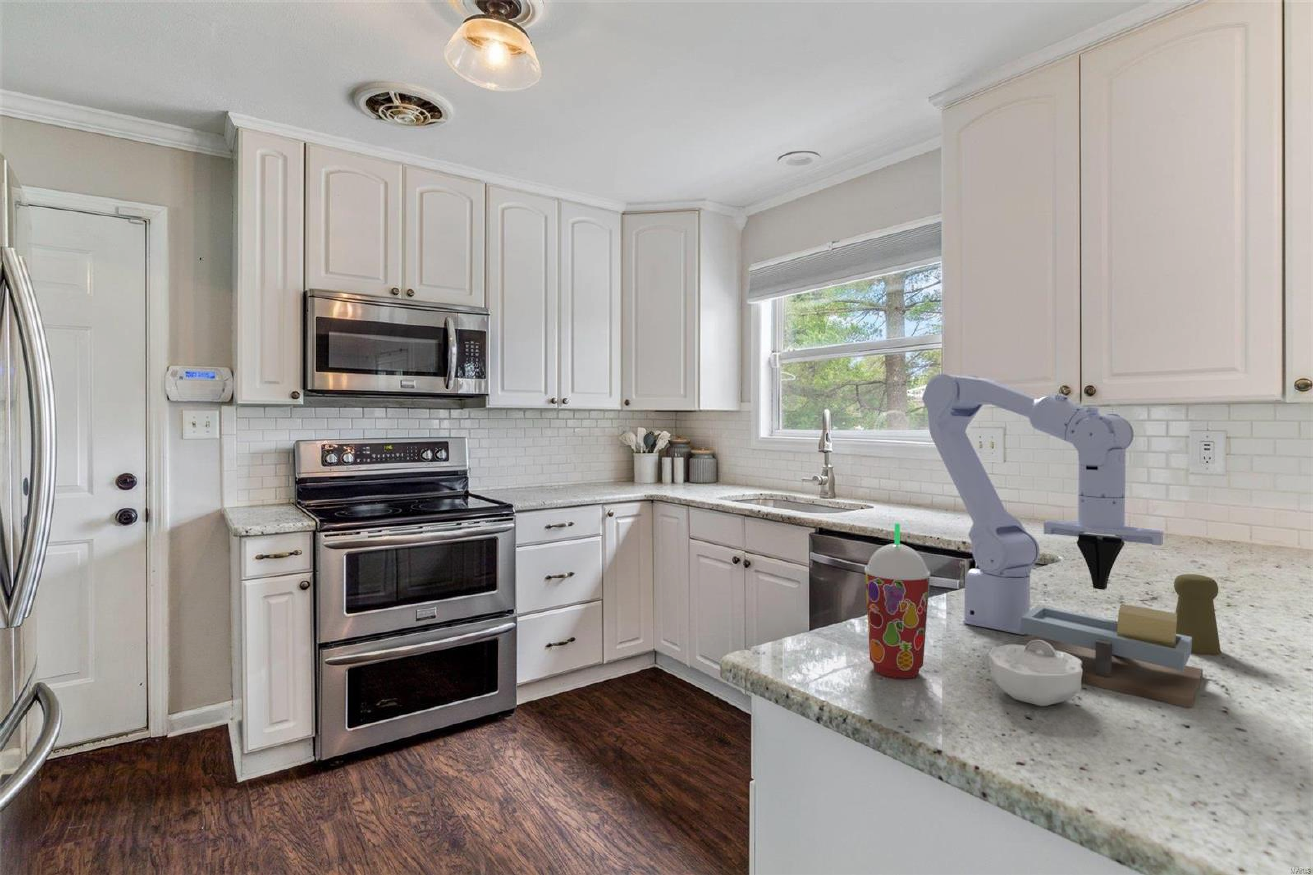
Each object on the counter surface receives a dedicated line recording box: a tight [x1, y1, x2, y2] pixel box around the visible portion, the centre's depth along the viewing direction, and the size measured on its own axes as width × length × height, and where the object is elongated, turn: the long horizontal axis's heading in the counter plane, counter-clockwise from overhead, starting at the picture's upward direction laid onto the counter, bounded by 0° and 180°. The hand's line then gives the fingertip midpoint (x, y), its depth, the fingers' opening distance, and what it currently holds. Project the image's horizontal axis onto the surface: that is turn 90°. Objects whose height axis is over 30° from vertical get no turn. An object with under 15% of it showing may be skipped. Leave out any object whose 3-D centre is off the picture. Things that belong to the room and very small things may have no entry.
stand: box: [1023, 636, 1204, 709], centre depth 90 cm, size 20×14×5 cm
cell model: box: [988, 640, 1083, 707], centre depth 80 cm, size 10×12×7 cm
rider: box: [1117, 603, 1177, 649], centre depth 87 cm, size 6×5×4 cm
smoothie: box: [864, 523, 931, 680], centre depth 89 cm, size 8×8×20 cm
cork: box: [1173, 573, 1222, 656], centre depth 99 cm, size 6×6×11 cm
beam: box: [1020, 604, 1192, 671], centre depth 90 cm, size 18×9×2 cm, turn 46°
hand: (1100, 588), depth 98 cm, fingers closed
